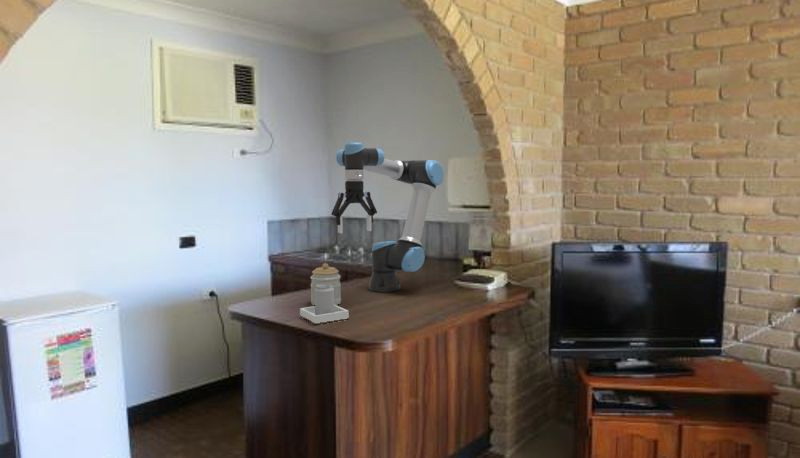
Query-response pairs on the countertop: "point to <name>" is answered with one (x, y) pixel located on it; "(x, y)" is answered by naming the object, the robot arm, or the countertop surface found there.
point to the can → (324, 299)
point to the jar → (326, 281)
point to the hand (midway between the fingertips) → (354, 231)
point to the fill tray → (337, 315)
